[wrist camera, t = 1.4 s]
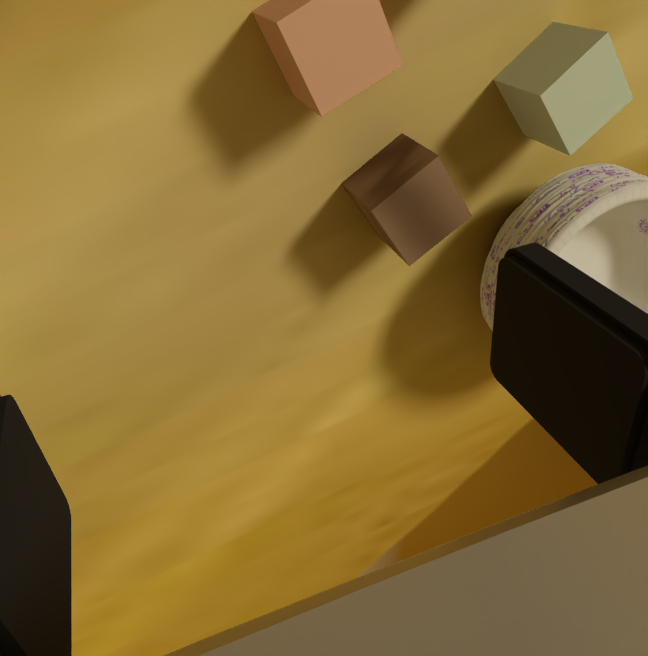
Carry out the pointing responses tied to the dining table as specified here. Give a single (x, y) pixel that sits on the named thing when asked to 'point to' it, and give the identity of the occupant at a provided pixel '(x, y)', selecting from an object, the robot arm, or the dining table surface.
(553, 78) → the sage block
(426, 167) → the walnut block
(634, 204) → the paper bowls
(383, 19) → the terracotta block
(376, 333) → the dining table surface
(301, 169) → the dining table surface
